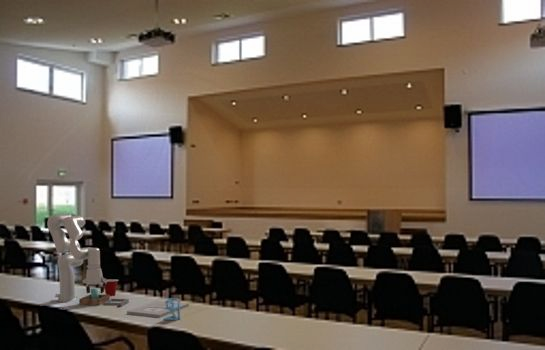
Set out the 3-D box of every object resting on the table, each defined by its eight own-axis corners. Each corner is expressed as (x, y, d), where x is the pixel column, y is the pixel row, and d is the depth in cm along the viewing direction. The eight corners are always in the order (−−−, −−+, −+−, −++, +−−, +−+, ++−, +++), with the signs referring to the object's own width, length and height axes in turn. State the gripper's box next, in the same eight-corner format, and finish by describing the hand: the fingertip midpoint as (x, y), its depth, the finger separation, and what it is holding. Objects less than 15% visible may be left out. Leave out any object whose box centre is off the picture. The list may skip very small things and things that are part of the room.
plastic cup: (121, 294, 375) (120, 278, 375) (115, 298, 364) (114, 281, 364) (106, 295, 376) (106, 278, 376) (100, 298, 365) (99, 281, 365)
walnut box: (79, 306, 341) (79, 299, 341) (90, 301, 355) (90, 294, 355) (99, 307, 339) (99, 299, 339) (109, 302, 353) (109, 294, 353)
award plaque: (188, 306, 336) (188, 303, 336) (160, 318, 309) (160, 314, 309) (157, 303, 346) (157, 300, 346) (127, 314, 319) (126, 311, 319)
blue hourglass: (174, 321, 299) (173, 300, 299) (163, 319, 303) (162, 299, 303) (183, 318, 305) (182, 297, 305) (172, 316, 310) (172, 296, 310)
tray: (103, 306, 340) (103, 302, 340) (111, 302, 352) (111, 298, 352) (120, 306, 338) (120, 303, 338) (128, 302, 350) (128, 298, 350)
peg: (89, 303, 345) (89, 289, 345) (93, 301, 350) (93, 288, 350) (96, 303, 345) (96, 289, 345) (99, 301, 349) (99, 288, 349)
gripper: (79, 268, 345) (80, 294, 345) (103, 267, 342) (104, 293, 342) (85, 266, 352) (86, 292, 352) (109, 265, 350) (110, 291, 349)
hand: (95, 292), depth 347 cm, fingers open, 9 cm apart
